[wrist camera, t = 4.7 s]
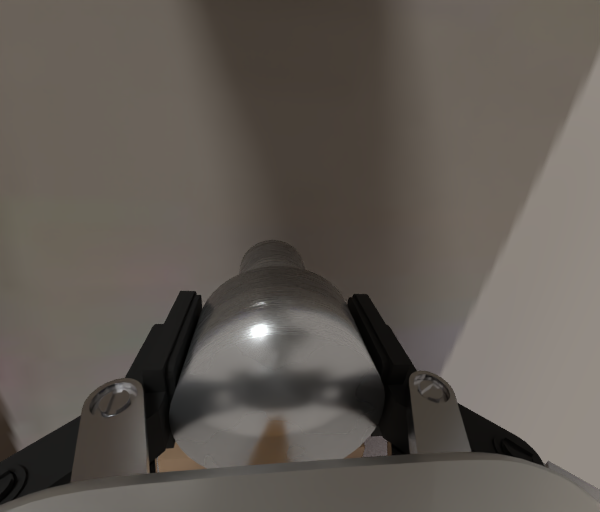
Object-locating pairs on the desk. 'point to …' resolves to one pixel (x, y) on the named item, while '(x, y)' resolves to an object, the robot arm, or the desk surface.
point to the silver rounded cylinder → (275, 370)
